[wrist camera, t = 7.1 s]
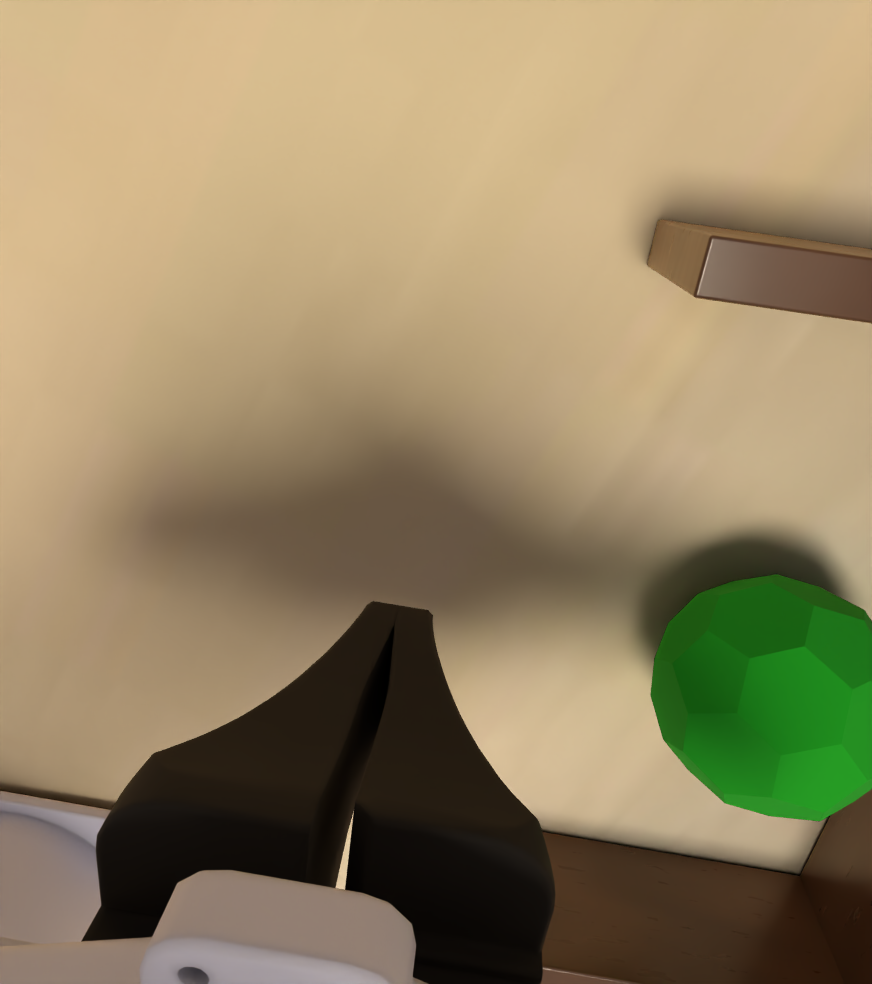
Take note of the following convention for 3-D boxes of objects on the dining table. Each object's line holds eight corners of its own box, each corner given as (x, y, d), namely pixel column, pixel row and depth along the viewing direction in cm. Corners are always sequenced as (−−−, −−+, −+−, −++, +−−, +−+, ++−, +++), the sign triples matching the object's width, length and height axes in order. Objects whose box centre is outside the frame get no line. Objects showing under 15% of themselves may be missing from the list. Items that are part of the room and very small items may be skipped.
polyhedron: (661, 724, 19) (706, 888, 14) (614, 571, 17) (649, 706, 13) (861, 682, 18) (976, 847, 13) (832, 514, 16) (953, 641, 12)
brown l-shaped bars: (505, 846, 21) (504, 996, 17) (657, 218, 14) (715, 236, 10) (821, 900, 21) (892, 1066, 17) (1150, 288, 13) (1412, 334, 10)
